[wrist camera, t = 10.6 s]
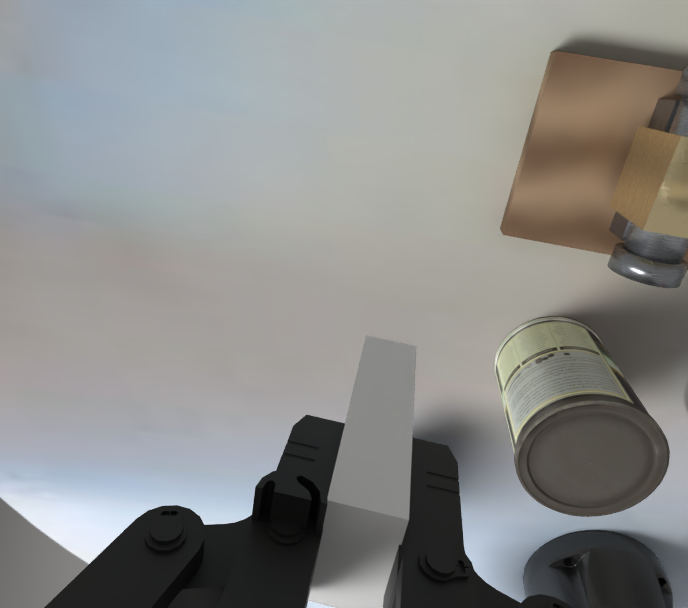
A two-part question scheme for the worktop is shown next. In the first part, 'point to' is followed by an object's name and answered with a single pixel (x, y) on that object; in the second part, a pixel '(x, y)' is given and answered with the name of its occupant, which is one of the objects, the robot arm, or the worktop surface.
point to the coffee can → (576, 421)
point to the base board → (581, 148)
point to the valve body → (655, 198)
